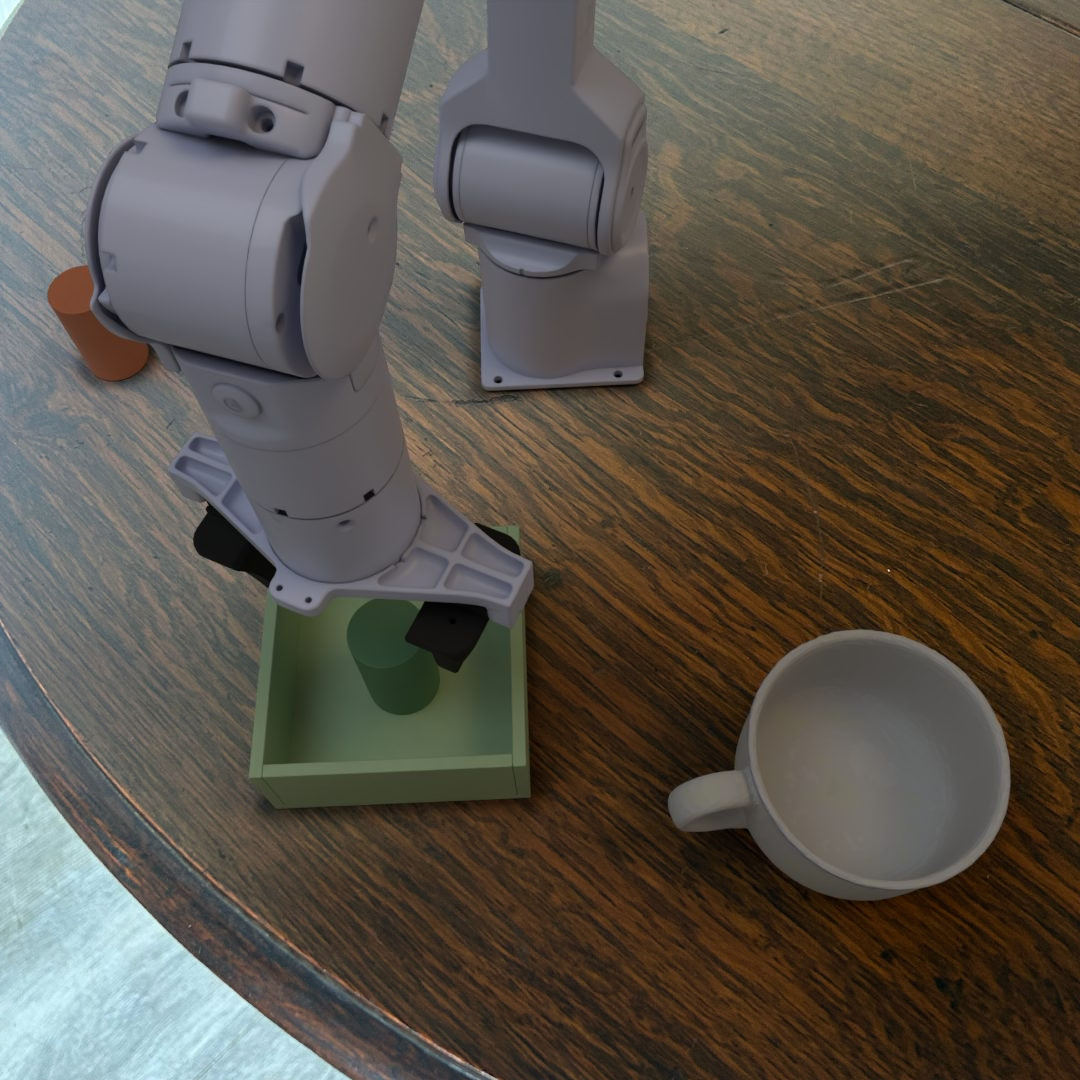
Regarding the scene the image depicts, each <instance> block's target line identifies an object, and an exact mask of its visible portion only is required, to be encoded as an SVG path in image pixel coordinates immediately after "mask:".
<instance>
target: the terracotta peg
mask: <svg viewBox="0 0 1080 1080" xmlns="http://www.w3.org/2000/svg"><path fill="white" fill-rule="evenodd" d="M93 293H94V283H93V280H92V277H91V274H90V271H89V267H88V264H87V265H86V264H84V265H78V266H74V267H71V268H68V269H66V270H64V271H62V272H61V273H60V274H58V275H57V276H56V277H55V278H54V279H53V280H52V281H51V283H50V285H49V286H48V288H47V292H46V297H47V302H48V304H49V306H50V307H51V309H52V311H53V312H54V314H55V316H56V317H57V319H58V320H59V322H60V323H61V325H62V327H63V328H64V330H65V332H66V333H67V334H68V336H69V338H70V339H71V341H72V342H73V344H74V346H75V347H76V349H77V351H78V352H79V354H80V355H81V357H82V359H83V360H84V361H85V363H86V365H87V366H88V369H90V371H91V373H92V374H93V375H94V376H95V377H97V378H99V379H101V380H104V381H109V382H115V381H122V380H126V379H129V378H131V377H133V376H135V375H136V374H137V373H139V371H141V370H142V369H143V367H144V366H145V365H146V363H147V361H148V360H149V359H148V358H149V353H150V352H149V347H148V343H141V342H137V341H133V340H129V339H125V338H122V337H119V336H117V335H115V334H113V333H111V332H110V331H108V330H107V329H106V328H105V327H104V326H103V325H102V324H101V323H100V322H99V321H98V319H97V318H96V317H95V315H94V314H93V312H92V311H91V309H90V300H91V298H92V295H93Z"/></svg>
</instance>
